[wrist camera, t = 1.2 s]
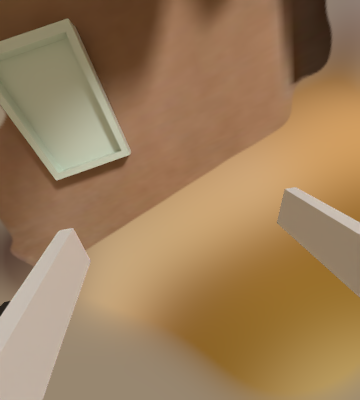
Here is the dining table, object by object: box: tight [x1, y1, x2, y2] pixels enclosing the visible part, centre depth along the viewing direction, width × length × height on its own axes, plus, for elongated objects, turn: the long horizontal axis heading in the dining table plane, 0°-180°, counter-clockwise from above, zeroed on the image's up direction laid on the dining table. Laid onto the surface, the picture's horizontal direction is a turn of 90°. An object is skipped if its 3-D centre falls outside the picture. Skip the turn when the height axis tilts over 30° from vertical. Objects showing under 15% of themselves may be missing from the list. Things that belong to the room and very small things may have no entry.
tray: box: [0, 18, 131, 181], centre depth 26 cm, size 17×13×3 cm
